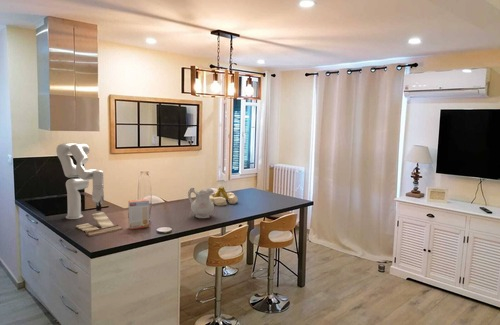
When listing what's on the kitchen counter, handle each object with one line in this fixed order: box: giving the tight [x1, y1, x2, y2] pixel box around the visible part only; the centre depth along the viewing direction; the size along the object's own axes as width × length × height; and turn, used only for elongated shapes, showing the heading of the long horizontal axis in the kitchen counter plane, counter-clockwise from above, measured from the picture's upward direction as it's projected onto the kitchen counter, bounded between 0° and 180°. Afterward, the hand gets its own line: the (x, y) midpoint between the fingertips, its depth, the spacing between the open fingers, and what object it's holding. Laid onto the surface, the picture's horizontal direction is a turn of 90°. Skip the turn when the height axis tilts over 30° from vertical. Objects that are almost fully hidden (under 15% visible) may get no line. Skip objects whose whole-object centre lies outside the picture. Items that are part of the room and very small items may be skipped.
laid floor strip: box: [85, 224, 124, 237], centre depth 262 cm, size 7×24×2 cm, turn 140°
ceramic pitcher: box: [187, 187, 215, 219], centre depth 310 cm, size 22×20×25 cm
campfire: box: [209, 185, 239, 207], centre depth 367 cm, size 35×34×17 cm
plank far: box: [91, 211, 115, 229], centre depth 274 cm, size 18×9×1 cm, turn 50°
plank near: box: [75, 222, 100, 233], centre depth 267 cm, size 18×9×1 cm, turn 50°
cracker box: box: [128, 198, 150, 230], centre depth 274 cm, size 14×6×21 cm, turn 121°
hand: (98, 210), depth 277 cm, fingers closed
